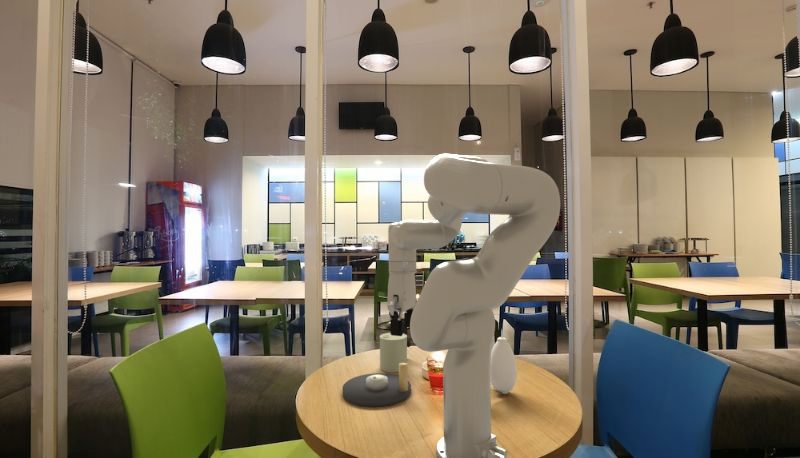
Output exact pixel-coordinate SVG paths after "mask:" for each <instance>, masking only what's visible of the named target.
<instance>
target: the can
mask: <svg viewBox="0 0 800 458" xmlns="http://www.w3.org/2000/svg"><path fill="white" fill-rule="evenodd" d="M407 349H408V347H407V335H406V334H403V335H402V336H393V335H391V332H386V333H381V334H380V335H379V369H380V370H381V371H383V372H387V373H399V364H400V363H407V364H408V350H407Z"/></svg>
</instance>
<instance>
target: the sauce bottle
mask: <svg viewBox="0 0 800 458" xmlns="http://www.w3.org/2000/svg"><path fill="white" fill-rule="evenodd" d="M500 334H501V335H500V336H499V337H497V339H496V342H495V343H494V345H493V346H492V348H491V367H490V368H491V379H490V385H491V386H492V388H493V390H495V391H497V392H500V394H501V395H506V394H508V393H510V392H511V391H512V390H513V389H514V387H515V385H516V382H517V378H518V366H517V365H518V364H517V360H516V356H515V354H514V351H513V349H512V347H511V345H510V343H508V339H507V338H506V337H504V333H503V329H501V332H500Z"/></svg>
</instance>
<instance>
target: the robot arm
mask: <svg viewBox="0 0 800 458" xmlns="http://www.w3.org/2000/svg"><path fill="white" fill-rule="evenodd" d="M423 185H424V188H425V190H426V193H428V195H429V196H428V199H427V207H428V211H429V213H430V214H431V216H432V217H433V219H434V220H433V219H403V220H401V221H399V222H397V221H396V222H392V223H390V224H389V225H388V228H387V229H388V231H387V232H388V233H387V234H388V237H387V239H388V274H389V276H388V283H387V284H388V285H387V300H386V301H387V304H386V305H387V306H386V307H387V310H388V311H389V312H388V315H389V322H390V323H389V324H390V333H391V335H393V336H402V335H403V320H401V318H404V326H405V327H407V328H409V331H410V337H411V340H412V341H413V343H414V345H415V346H416V347H417V348H419V350H421V351H424V352H427V353H428V352H429V353H432V352H433V353H435V352H442V351H447V352H446V355H445V357H444V361H443V366H442V367H443V368H442V372H443V373H442V376H443V377H442V381H443V382H442V383H443V384H442V385H443V390H442V391H443V394H442V395H443V400H442V401H443V436H442V437H441V438H440V439H439V440H438V441H437V443H436V451H435V452H436V455H437V458H507V456H508V453H509V452H508V449H505V448H503V447H500V446H498V444H497V435H496V434H493V433H492V401H491V399H492V398H491V397H492V396H491V395H492V394H491V393H492V392H491V391H492V390H491V388H492V387H491V386H492V384H491V382H490V379H491V368H490V367H491V351H492V349H493V341H494V337H495V336H494V335H495V331H496V317H495V314H494V313H495V312H494V311H493V310H495V309H497V308H499V307H501V306H502V305H503V304H505V302H506V301H507V300H508V298H509V296H511V294H512V292H513V291H514V289H515V287H516V286H517V284H518V283H519V282H520V280H521V278H522V277H523V275H524V273H525V272H526V271H527V269H528V267H529V265H530V264H531V263H532V261H533V259H534V258H535V257H536V255H537V254H538V253H539V251H540V250H541V249H542V248H543V246H544V245H545V243H546V242H547V241H548V240H549V238H550V236H551V235H552V233H553V232H554V229H555V228H556V226H557V223H558V221H559V216H560V212H561V211H560V210H561V196H560V191H559V188H558V186H557V184H556V182H555V180H554V179H553V178H552V177H551V176H550V175H549V174H547V173H546V172H544V171H542V170H541V169H537V168H535V167H530V166H524V165H518V164H517V165H516V164H506V163H505V164H504V163H495V162H490V161H488V160H486V159H485V158H481V157H478V156H470V155H462V154H460V155H459V154H453V153H452V154H451V153H441V154H438V155H437V156H434V157H433V159H431V160H430V161H429V163H428V164H427V166H426V167H425V171H424V174H423ZM468 213H470V214H475V215H495V216H496V215H503V216H506V215H507V216H508V217H507V218H506V219H505V220H504V221H503V222H502V223H500V224H499V225H498V226H496V227H495V228H494V229H493V230H492V231H491V233H490V234H489V235H488V236H487V238H485V241H483V244H482V247H481V248H480V250H479V251H478V253H477V254H476V256H474V257H472V258H469V259H458V260H448V261H444V262H442V263H439V264H438V265H436V266H435V267H434V268H433V269H432V271H430V274H429V275H428V276H427V279H426V281H425V283H424V286H423V288H422V289H421V292H420V294H419V296H418V299H417V291H416V289H417V287H416V277H415V274H417V273H418V271H417V250H437V249H441V248H444V247H446V246H447V245H448V244H450V243H451V242H452V241H454V240H455V239H456V238H457V237H458V236H459V233H460V232H461V228H462V224H463V219H462V218H463V217H464V216H465V215H466V214H468ZM403 315H404V317H403Z"/></svg>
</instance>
